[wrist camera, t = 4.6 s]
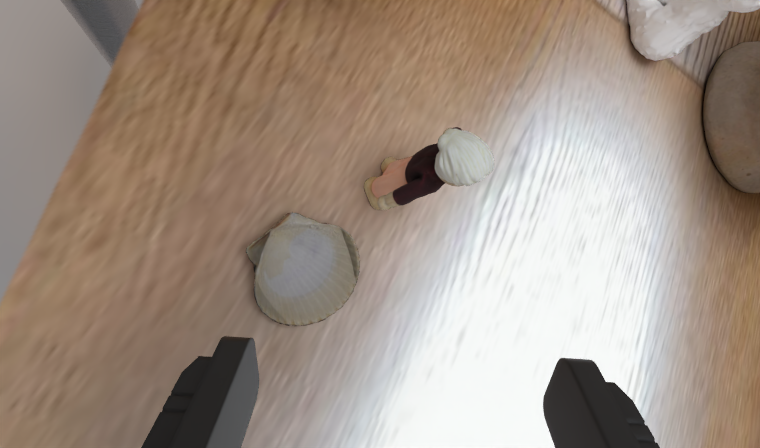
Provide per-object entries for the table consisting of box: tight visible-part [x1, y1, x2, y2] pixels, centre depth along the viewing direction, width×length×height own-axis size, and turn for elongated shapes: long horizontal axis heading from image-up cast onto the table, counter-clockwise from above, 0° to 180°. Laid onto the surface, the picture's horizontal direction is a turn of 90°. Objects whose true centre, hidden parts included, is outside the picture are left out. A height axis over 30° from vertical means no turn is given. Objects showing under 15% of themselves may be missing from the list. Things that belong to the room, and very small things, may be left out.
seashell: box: [246, 213, 360, 326], centre depth 30 cm, size 8×3×8 cm
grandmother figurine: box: [364, 127, 494, 210], centre depth 28 cm, size 8×4×13 cm, turn 147°
